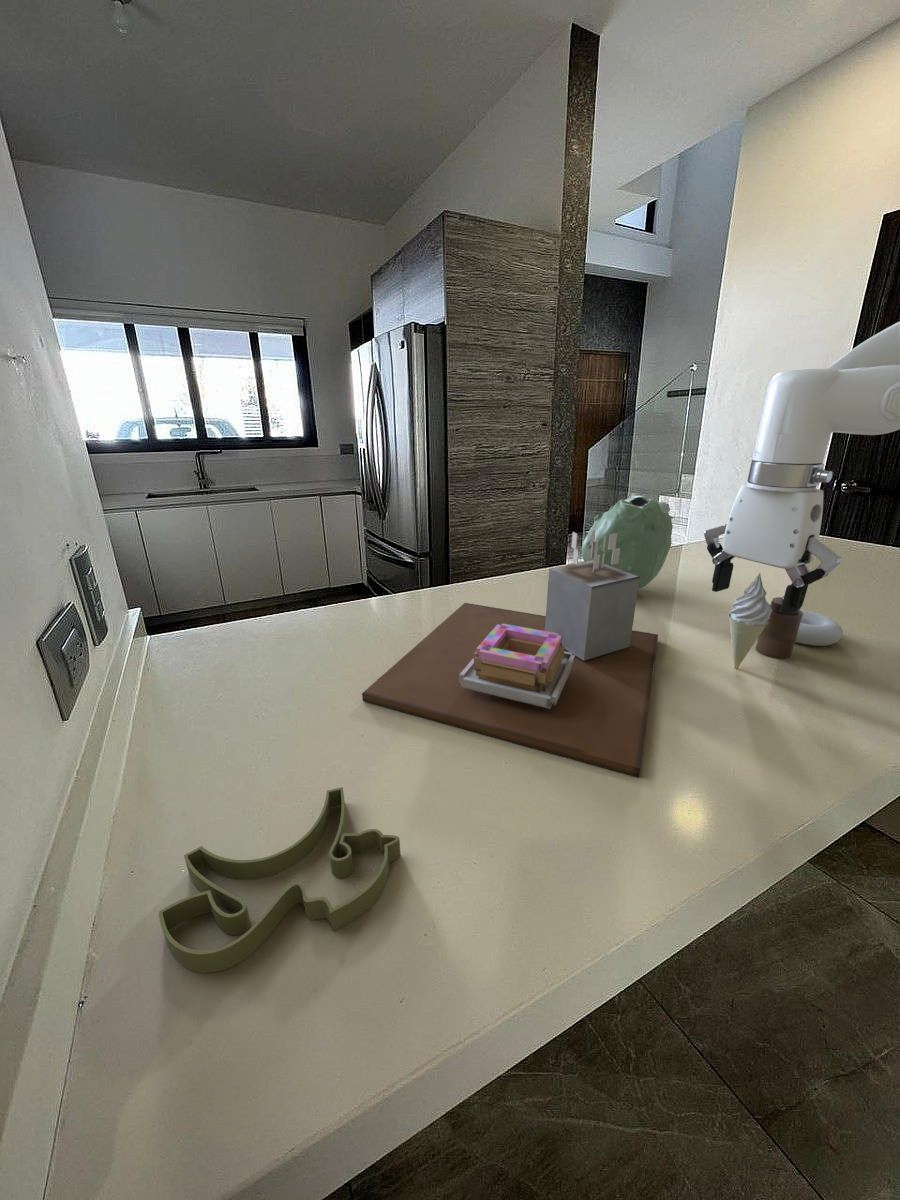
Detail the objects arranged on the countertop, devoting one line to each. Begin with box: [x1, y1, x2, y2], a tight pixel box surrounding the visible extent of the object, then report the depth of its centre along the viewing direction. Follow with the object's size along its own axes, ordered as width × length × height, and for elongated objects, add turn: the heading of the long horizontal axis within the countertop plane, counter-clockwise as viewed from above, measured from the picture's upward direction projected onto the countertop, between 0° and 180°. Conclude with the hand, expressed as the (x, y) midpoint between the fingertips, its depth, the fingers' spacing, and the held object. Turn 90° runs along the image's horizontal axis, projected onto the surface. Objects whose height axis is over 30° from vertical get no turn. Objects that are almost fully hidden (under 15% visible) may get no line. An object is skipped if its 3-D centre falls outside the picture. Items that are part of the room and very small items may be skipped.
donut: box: [795, 609, 844, 647], centre depth 81 cm, size 10×4×10 cm
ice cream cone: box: [727, 572, 772, 669], centre depth 69 cm, size 5×5×15 cm
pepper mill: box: [755, 595, 803, 660], centre depth 74 cm, size 5×5×10 cm
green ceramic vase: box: [581, 492, 675, 590], centre depth 99 cm, size 16×19×20 cm
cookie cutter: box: [158, 786, 401, 974], centre depth 40 cm, size 18×12×2 cm, turn 123°
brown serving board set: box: [361, 529, 659, 778], centre depth 69 cm, size 35×35×19 cm
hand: (752, 600), depth 68 cm, fingers open, 9 cm apart
